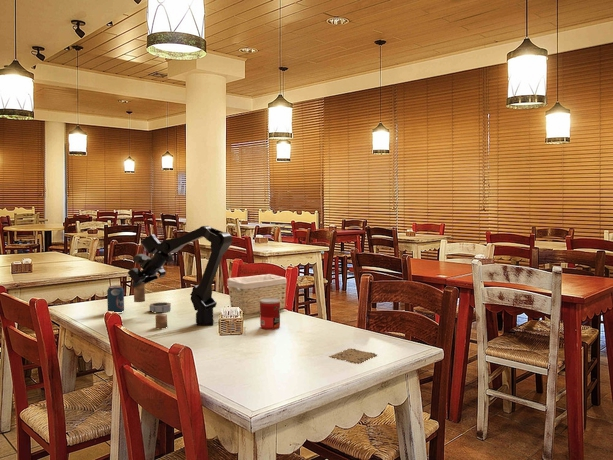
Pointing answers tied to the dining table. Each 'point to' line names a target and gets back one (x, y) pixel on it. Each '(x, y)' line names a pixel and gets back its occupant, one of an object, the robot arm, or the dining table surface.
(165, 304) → the steel ring socket
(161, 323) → the short walnut peg
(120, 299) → the soda can
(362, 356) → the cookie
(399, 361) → the dining table surface
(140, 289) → the tall walnut peg
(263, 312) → the canned food
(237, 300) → the storage basket
